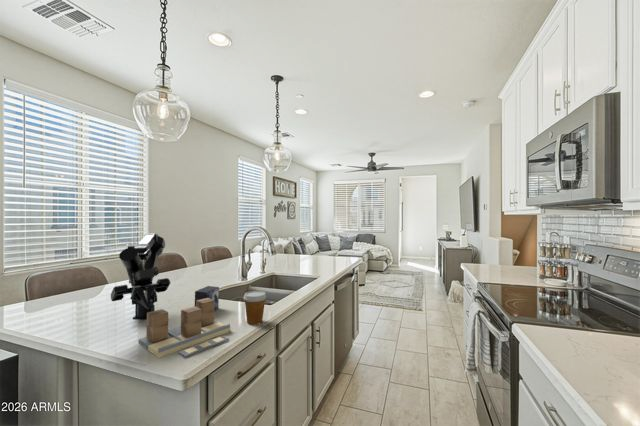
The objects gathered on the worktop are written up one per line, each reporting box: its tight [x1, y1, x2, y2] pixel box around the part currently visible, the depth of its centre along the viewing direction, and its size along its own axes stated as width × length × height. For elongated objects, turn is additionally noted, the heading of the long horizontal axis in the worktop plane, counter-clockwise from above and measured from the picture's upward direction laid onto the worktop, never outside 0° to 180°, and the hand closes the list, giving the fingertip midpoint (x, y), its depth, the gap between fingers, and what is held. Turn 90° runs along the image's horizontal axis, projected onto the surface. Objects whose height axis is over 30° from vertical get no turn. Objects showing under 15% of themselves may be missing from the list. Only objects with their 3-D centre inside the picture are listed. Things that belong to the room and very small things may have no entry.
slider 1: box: [145, 308, 169, 343], centre depth 98 cm, size 5×5×9 cm
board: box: [138, 320, 231, 358], centre depth 104 cm, size 16×26×3 cm, turn 143°
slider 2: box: [196, 298, 215, 326], centre depth 113 cm, size 5×5×9 cm
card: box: [178, 335, 230, 359], centre depth 96 cm, size 4×16×1 cm, turn 143°
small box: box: [194, 285, 220, 311], centre depth 132 cm, size 11×6×10 cm, turn 168°
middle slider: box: [180, 305, 202, 338], centre depth 102 cm, size 5×5×9 cm
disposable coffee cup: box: [242, 290, 267, 326], centre depth 119 cm, size 10×10×12 cm
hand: (148, 307), depth 103 cm, fingers closed
